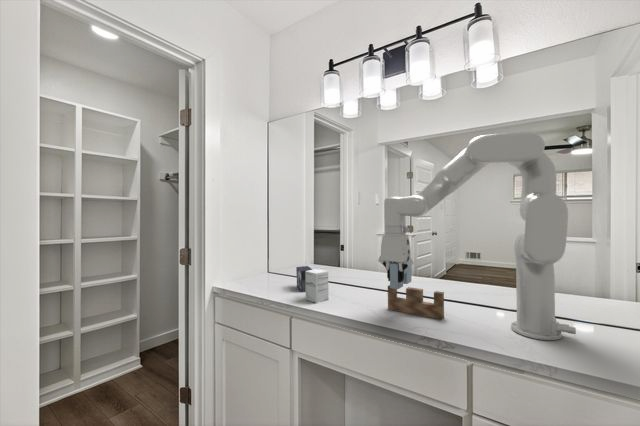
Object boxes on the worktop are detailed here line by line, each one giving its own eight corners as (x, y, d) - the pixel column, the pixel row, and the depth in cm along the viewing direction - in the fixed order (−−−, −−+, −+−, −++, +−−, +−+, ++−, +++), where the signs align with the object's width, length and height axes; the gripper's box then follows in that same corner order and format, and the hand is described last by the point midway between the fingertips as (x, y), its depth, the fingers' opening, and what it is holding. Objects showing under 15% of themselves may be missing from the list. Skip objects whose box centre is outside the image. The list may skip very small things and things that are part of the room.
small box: (295, 287, 149) (295, 266, 149) (308, 286, 151) (308, 265, 151) (300, 292, 139) (300, 270, 139) (314, 291, 141) (313, 269, 141)
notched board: (444, 317, 104) (443, 292, 104) (442, 319, 102) (441, 293, 102) (390, 307, 116) (390, 284, 115) (387, 309, 113) (387, 285, 113)
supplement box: (305, 299, 127) (304, 270, 127) (317, 296, 132) (317, 268, 132) (316, 303, 121) (315, 273, 121) (329, 300, 126) (328, 270, 126)
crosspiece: (411, 281, 116) (411, 258, 116) (398, 289, 105) (397, 264, 105) (404, 280, 118) (403, 258, 118) (390, 288, 107) (389, 263, 107)
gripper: (420, 230, 105) (421, 282, 105) (378, 229, 115) (379, 276, 115) (413, 232, 99) (414, 286, 99) (370, 230, 109) (370, 280, 109)
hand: (395, 280), depth 107 cm, fingers closed on crosspiece, 3 cm apart
